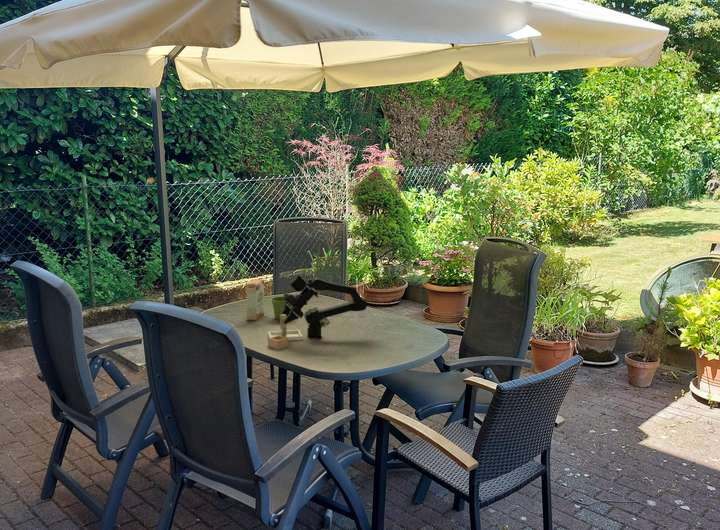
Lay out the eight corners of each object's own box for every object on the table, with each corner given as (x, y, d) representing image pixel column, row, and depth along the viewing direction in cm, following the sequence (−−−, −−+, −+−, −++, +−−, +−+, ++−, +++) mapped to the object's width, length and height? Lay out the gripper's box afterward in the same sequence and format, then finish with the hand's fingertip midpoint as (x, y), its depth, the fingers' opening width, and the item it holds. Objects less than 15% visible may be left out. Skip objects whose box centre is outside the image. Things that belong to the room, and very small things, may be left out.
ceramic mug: (310, 325, 334) (311, 311, 333) (309, 321, 342) (309, 307, 341) (330, 324, 336) (330, 311, 335) (328, 320, 344) (328, 307, 343)
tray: (299, 334, 318) (299, 329, 318) (302, 340, 307) (302, 336, 306) (268, 336, 314) (268, 331, 314) (270, 343, 303) (270, 338, 303)
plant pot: (290, 321, 343) (290, 301, 341) (269, 320, 343) (269, 301, 341) (293, 315, 354) (293, 296, 352) (273, 315, 354) (272, 296, 352)
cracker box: (257, 320, 343) (256, 284, 339) (246, 320, 344) (245, 283, 340) (265, 314, 356) (264, 279, 352) (255, 313, 357) (254, 278, 353)
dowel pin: (287, 337, 310) (286, 314, 307) (285, 339, 307) (285, 316, 304) (281, 337, 310) (281, 314, 308) (279, 338, 307) (279, 315, 305)
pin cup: (279, 343, 302) (279, 335, 301) (288, 347, 297) (288, 338, 296) (268, 346, 297) (267, 337, 296) (276, 350, 292) (276, 341, 291)
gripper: (288, 283, 314) (267, 306, 312) (296, 291, 297) (274, 315, 295) (303, 297, 318) (282, 319, 316) (312, 306, 301) (290, 329, 299)
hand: (282, 320), depth 306 cm, fingers open, 9 cm apart
